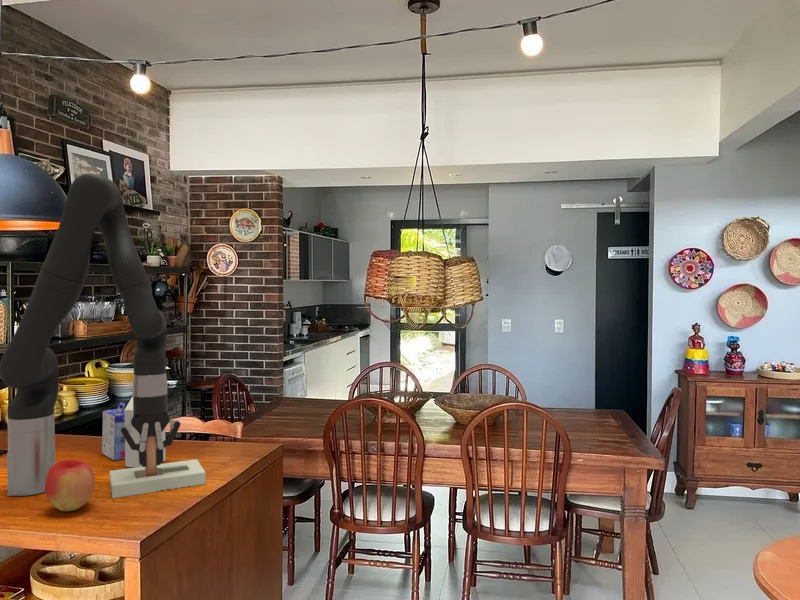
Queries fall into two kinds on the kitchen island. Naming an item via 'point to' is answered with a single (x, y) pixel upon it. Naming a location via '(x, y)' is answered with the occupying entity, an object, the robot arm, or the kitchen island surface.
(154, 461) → the headed peg
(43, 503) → the kitchen island surface
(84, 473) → the apple
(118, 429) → the ink cartridge box
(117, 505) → the kitchen island surface
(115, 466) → the kitchen island surface
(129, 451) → the milk carton
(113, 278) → the robot arm
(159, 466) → the keyhole board
